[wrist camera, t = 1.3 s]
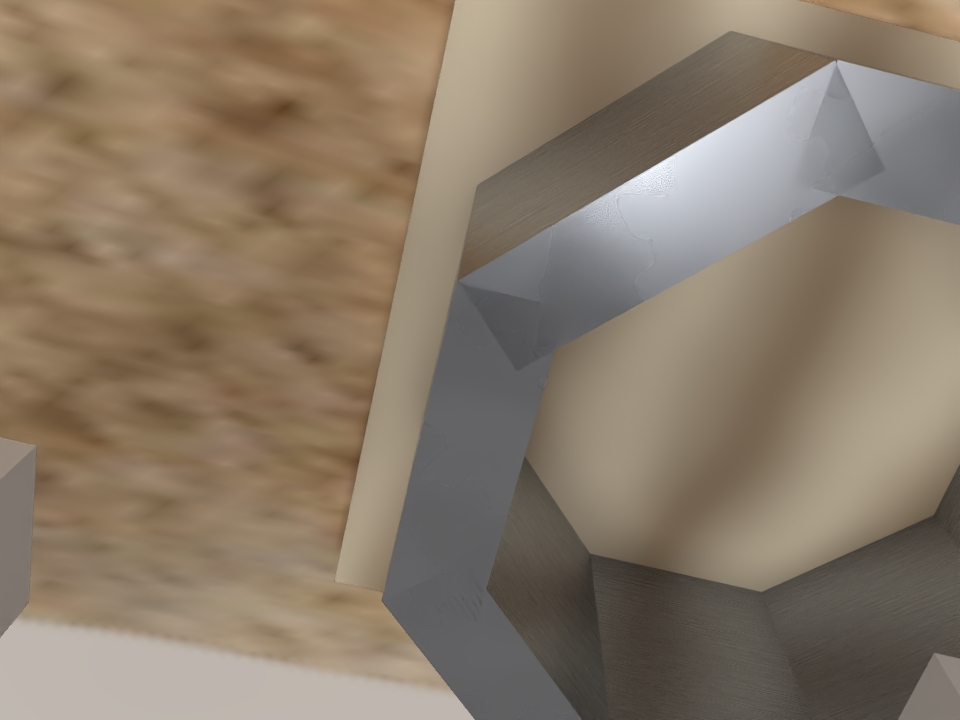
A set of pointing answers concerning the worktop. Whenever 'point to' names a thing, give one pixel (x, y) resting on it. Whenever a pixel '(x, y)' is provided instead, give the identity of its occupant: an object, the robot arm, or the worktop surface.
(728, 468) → the maple board
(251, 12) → the worktop surface
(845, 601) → the steel collar
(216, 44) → the worktop surface
